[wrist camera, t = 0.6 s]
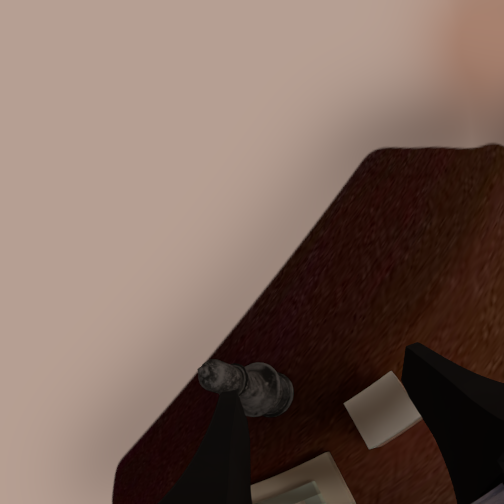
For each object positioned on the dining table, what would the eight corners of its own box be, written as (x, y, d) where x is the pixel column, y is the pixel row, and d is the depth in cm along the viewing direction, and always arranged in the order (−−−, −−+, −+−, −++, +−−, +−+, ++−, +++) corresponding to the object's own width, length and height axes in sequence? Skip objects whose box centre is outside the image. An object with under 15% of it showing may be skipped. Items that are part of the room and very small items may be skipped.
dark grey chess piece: (243, 412, 32) (164, 391, 24) (258, 365, 34) (186, 331, 26) (287, 425, 28) (212, 413, 20) (302, 374, 31) (236, 341, 23)
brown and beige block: (423, 418, 21) (420, 415, 17) (382, 445, 22) (369, 449, 18) (400, 381, 24) (391, 370, 20) (361, 408, 25) (343, 403, 21)
